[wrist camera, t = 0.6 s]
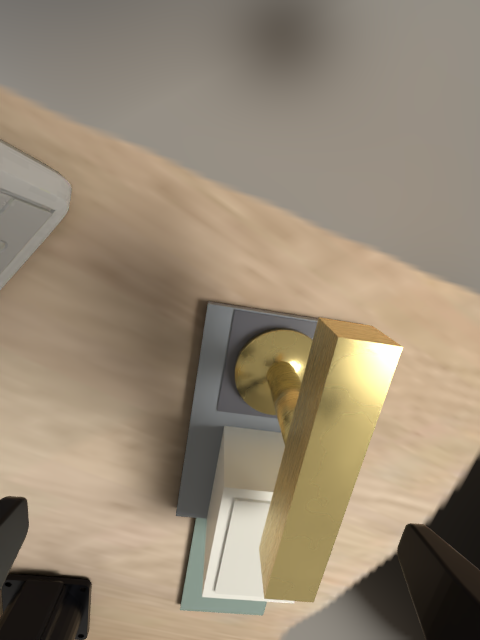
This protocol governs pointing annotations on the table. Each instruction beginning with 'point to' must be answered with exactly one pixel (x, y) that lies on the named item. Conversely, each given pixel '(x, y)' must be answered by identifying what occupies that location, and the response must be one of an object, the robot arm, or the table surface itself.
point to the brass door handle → (313, 437)
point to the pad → (194, 583)
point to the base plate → (224, 395)
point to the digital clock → (27, 206)
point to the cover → (240, 513)
